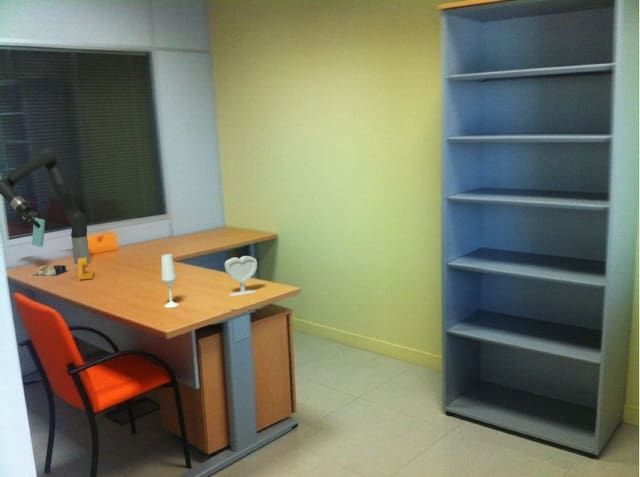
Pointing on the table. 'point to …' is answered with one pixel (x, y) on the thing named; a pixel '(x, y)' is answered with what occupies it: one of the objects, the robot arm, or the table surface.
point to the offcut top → (46, 268)
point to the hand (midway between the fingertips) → (41, 226)
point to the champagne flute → (168, 275)
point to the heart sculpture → (241, 271)
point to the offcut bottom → (47, 272)
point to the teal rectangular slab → (38, 233)
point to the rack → (56, 270)
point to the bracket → (81, 269)
